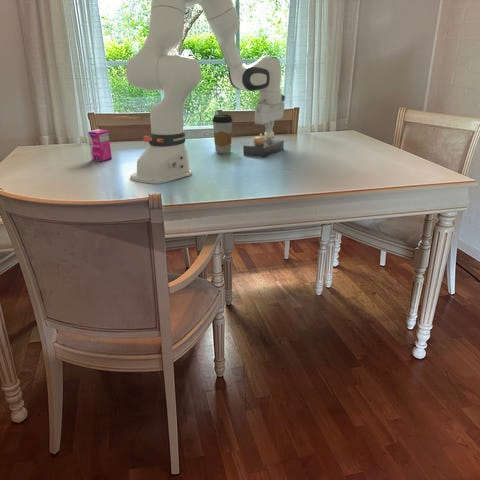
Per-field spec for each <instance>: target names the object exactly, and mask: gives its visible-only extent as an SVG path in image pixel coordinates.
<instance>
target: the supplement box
mask: <svg viewBox="0 0 480 480" xmlns="http://www.w3.org/2000/svg"><path fill="white" fill-rule="evenodd" d="M87 137H88V144H89V152H90V156H91V161H93V162H94V161H95V162H101V163H103V161H104V162H107V161H109V160H112V159H113V156H112V150H111V143H110V135H109V130H108V129H107V130H106V129H98V128H97V129H94V130H90V131H87Z"/></svg>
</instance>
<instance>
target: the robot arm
mask: <svg viewBox="0 0 480 480" xmlns="http://www.w3.org/2000/svg"><path fill="white" fill-rule="evenodd" d="M197 4H198V5H199V6H200V7H201V9H202V11H203V14H204V16H205V19H206V21H207V22H208V25H209V27H210V29H211V30H212V33H213V35H214V37H215V39H216V41H217V43H218V47H219V49H220V52H221V55H222V56H223V59H224V62H225V64H226V66H227V71H228V72H227V73H228V81H229V83H230V85H231V86H232V87H233V88H234V89H236V90H241V91H247V92H256V91H258V101H257V102H258V103H257V105H256V106H255V108H254V109H255V110H254V120H253V121H254V124H255V125H259V126H260V125H261V126H263V125H264V127H265V128H264V129H265V132H266V133H270V132H274V131H273V128H274V125H275V121H277V120H281V119H283V118H284V114H285V101H286V95H284V94H283V93H282V92H281V91H282V89H281V80H282V66H281V60H280V59H279V58H278V57H276V56H272V55H261V57H260V58H258V59H257V60H256V61H255V62H253V63H250V64H247V63H245V62H244V61H243V59H242V57H241V55H240V52H239V49H238V47H237V45H236V39H235V38H236V37H235V36H236V34H237V33H238V31H239V28H240V26H241V25H240V18H239V14H238V11H237V9H236V6H235V4H234V3H233V1H232V0H151V4H150V5H151V6H150V18H149V27H148V33H147V36H146V39H145V42H144V43H143V45H142V47H141V48H140V50H139V51H138V52H136V54H135V55H134V56H132V57H131V58H130V59H129V60H128V61H127V63H126V65H125V77H126V80H127V82H128V83H129V85H130V86H132V87H133V88H135V89H140V90H144V91H164V92H163V97H162V99H161V100H160V101H158V102H157V103H155V104H154V105H152V107H151V109H150V112H149V116H150V129H151V130H150V131H151V132H150V134H149V135H144V136H143V142H144V143H145V142H147V143H148V146H147V147H146V148H145V150H144V152H143V153H142V154H141V156H139V158H137V161H136V172H135V173H132V174H131V175H129V176H130V179H131V180H132V179H133V180H132V181H134V182H135V181H136V182H139V183H145V184H155V185H156V184H157V185H159V184H164V183H167V182H171V181H174V180H179V179H182V178H185V177H189V176H192V175H193V171H192V170H191V168H190V159H189V154H188V150H187V148H186V145H185V143H186V133H185V131H184V108H185V104H186V102H187V100H188V98H189V96H190V95H191V93H192V92H193V91H194V90H196V88H198V86H199V84H200V83H201V79H202V75H203V74H202V69H201V65H200V63H199V61H198V60H197V59H196V58H193V57H191V56H185V55H176V54H175V55H172V54H171V55H170V54H169V52H171V50H174V48H176V47H178V46H179V45H180V44H181V42H182V41H183V38H184V29H185V17H186V16H185V15H186V14H185V13H186V8H187V7H191V6H194V5H197ZM168 54H169V55H168Z"/></svg>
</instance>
